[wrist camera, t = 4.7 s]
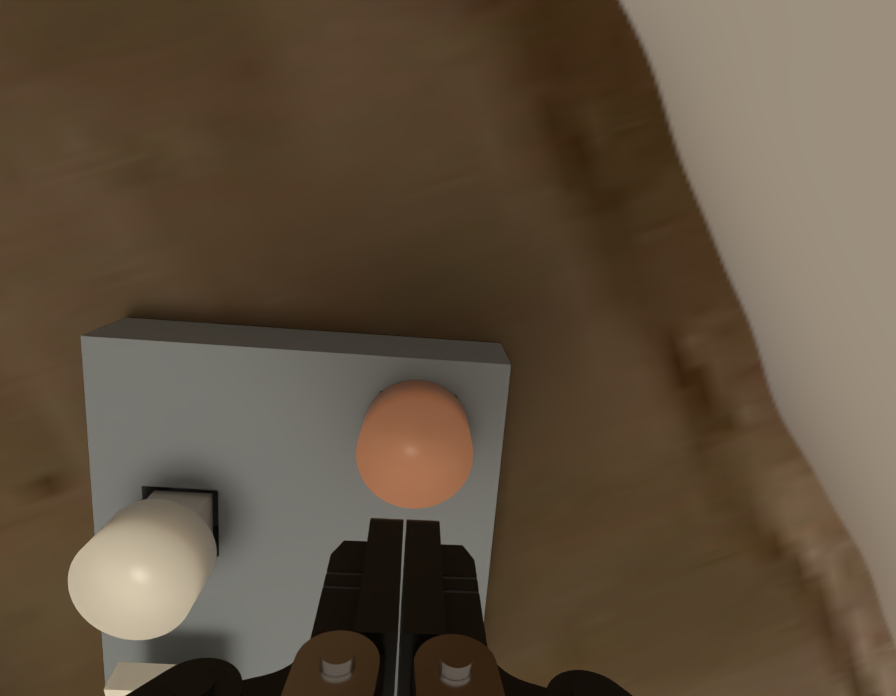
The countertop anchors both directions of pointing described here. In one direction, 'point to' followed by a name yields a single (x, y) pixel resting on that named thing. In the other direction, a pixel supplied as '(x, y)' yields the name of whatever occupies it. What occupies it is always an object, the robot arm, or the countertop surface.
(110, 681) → the block
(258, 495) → the panel
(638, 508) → the countertop surface
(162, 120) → the countertop surface
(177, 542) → the button
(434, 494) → the button
